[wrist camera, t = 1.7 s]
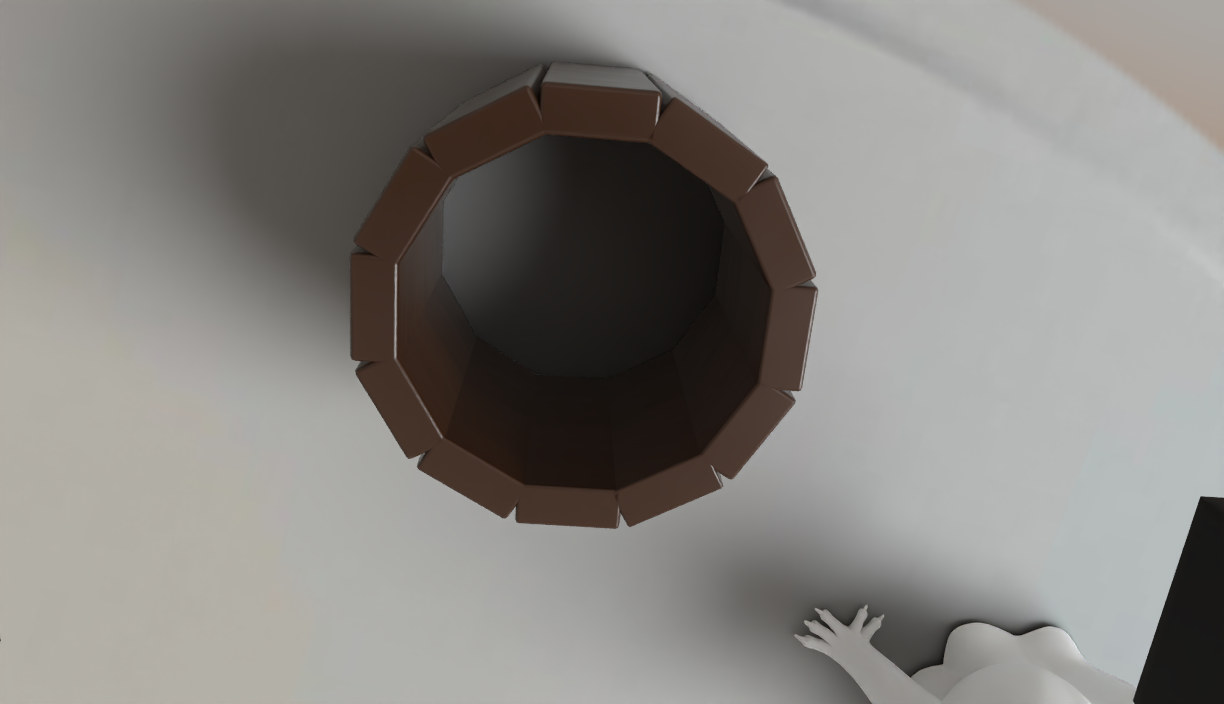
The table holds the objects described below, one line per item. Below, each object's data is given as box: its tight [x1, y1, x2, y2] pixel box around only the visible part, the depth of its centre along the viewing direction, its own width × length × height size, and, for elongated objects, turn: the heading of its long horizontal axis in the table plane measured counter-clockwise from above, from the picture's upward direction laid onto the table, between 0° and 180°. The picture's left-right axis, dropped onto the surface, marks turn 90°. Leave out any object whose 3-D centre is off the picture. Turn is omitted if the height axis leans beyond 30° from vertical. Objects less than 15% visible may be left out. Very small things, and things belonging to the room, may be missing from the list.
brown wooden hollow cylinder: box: [349, 62, 818, 529], centre depth 20 cm, size 9×9×6 cm
